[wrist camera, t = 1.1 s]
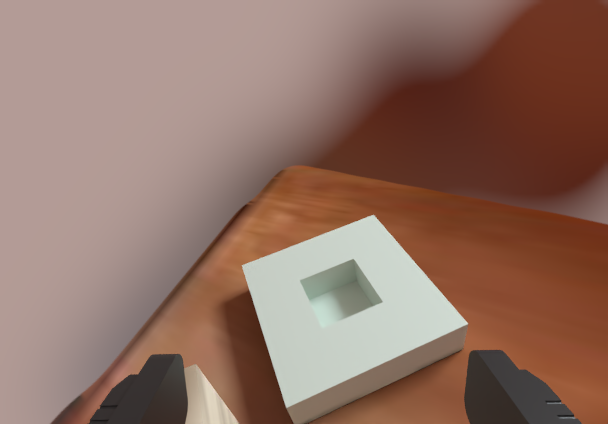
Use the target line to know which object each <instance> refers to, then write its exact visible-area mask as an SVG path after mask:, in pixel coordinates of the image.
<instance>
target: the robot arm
mask: <svg viewBox="0 0 608 424" xmlns="http://www.w3.org/2000/svg"><path fill="white" fill-rule="evenodd" d="M464 401H465V409H466V413H467V416H468V419H469V422H470V424H582V423H581V422H580V421H579V420H578V419H575V417H574V414H573V413H572V412H571V411H570V410H569V409H568V408H567V406H566V405H565V404H562V403H561V400H560V399H559V397H558V396H557V395H556V394H555V393H554V392H553V391H552V390H551V389H550V387H549V386H548V385H547V384H546V383H544V382H543V381H542V380H540V379H539V378H537V377H536V376H534V375H533V374H531V373H530V372H528V371H527V370H519V369H518V368H517V367H516V366H515V364H514V363H513V362H512V361H511V360H510V358H509V357H508V356H507V355H506V354H505V353H504V352H503V351H501V350H473V351H471V352H470V355H469V360H468V369H467V378H466V387H465V397H464ZM187 411H188V397H187V389H186V381H185V373H184V365H183V359H182V356H181V355H180V354H157V355H151V356H150V357H149V359H148V360H147V362H146V363H145V365H144V366H143V368H142V369H141V371H140V373H139V374H138V375H129V376H128V377H126V378H125V379H124V380H123V381H121V382H120V383H119V384H118V385H116V386H115V387H114V388H113V389H112V390H111V391H110V393H109V394H108V395H107V397H106V398H105V400H104V401H103V403H102V404H101V405H100V409H98V410H97V411H96V412H95V414H94V415H93V417H92V418H91V419H90V423H89V424H185V422H186V417H187Z"/></svg>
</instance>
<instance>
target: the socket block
mask: <svg viewBox="0 0 608 424" xmlns="http://www.w3.org/2000/svg"><path fill="white" fill-rule="evenodd" d="M242 267H243V271H244V274H245V277H246V280H247V283H248V287H249V290H250V293H251V296H252V300H253V303H254V306H255V309H256V312H257V316H258V319H259V322H260V325H261V328H262V332H263V335H264V338H265V341H266V345H267V348H268V351H269V354H270V357H271V361H272V364H273V367H274V370H275V374H276V377H277V380H278V383H279V386H280V390H281V393H282V396H283V399H284V402H285V406H286V409H287V411H288V413H289V415H290V417H291V419H292V421H293V423H294V424H306V423H309V422H311V421H313V420H315V419H317V418H319V417H321V416H323V415H325V414H328V413H330V412H332V411H334V410H336V409H338V408H340V407H342V406H344V405H347V404H349V403H351V402H353V401H355V400H357V399H359V398H361V397H363V396H365V395H368V394H370V393H372V392H374V391H376V390H378V389H380V388H382V387H384V386H387V385H389V384H391V383H393V382H395V381H397V380H399V379H401V378H403V377H405V376H408V375H410V374H412V373H414V372H416V371H418V370H420V369H422V368H424V367H427V366H429V365H431V364H433V363H435V362H437V361H439V360H441V359H443V358H445V357H448V356H450V355H452V354H454V353H456V352H458V351H460V350H462V349H463V347H464V342H465V337H466V332H467V327H468V323H467V322H466V321H465V320H464V319H463V317H462V316H461V315H460V314H459V313H458V312H457V311H456V309H455V308H454V307H453V306H452V305H451V304H450V302H449V301H448V300H447V299H446V298H445V297H444V296H443V294H442V293H441V292H440V291H439V290H438V289H437V287H436V286H435V285H434V284H433V283H432V282H431V281H430V279H429V278H428V277H427V276H426V275H425V274H424V272H423V271H422V270H421V269H420V268H419V267H418V266H417V264H416V263H415V262H414V261H413V260H412V259H411V258H410V256H409V255H408V254H407V253H406V252H405V251H404V249H403V248H402V247H401V246H400V245H399V244H398V243H397V241H396V240H395V239H394V238H393V237H392V236H391V234H390V233H389V232H388V231H387V230H386V229H385V228H384V226H383V225H382V224H381V223H380V222H379V221H378V219H377V218H376V217H375V216H374V215H372V216H369V217H367V218H364V219H361V220H359V221H356V222H354V223H351V224H348V225H346V226H343V227H341V228H338V229H335V230H333V231H330V232H328V233H325V234H322V235H320V236H317V237H315V238H312V239H309V240H307V241H304V242H302V243H299V244H297V245H294V246H291V247H289V248H286V249H284V250H281V251H278V252H276V253H273V254H271V255H268V256H265V257H263V258H260V259H258V260H255V261H252V262H250V263H247V264H245V265H242Z"/></svg>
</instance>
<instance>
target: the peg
mask: <svg viewBox="0 0 608 424" xmlns="http://www.w3.org/2000/svg"><path fill="white" fill-rule="evenodd" d="M184 373H185V381H186V389H187V397H188V411H187V417H186V422H185V424H239V422H238V421H237V420H236V418H235V417H234V416H233V414H232V413H231V411H230V410H229V409H228V407H227V406H226V405H225V403H224V402H223V400H222V399H221V398H220V396H219V395H218V394H217V392H216V391H215V390H214V388H213V387H212V385H211V384H210V383H209V381H208V380H207V379H206V377H205V376H204V375H203V373H202V372H201V370H200V369H199V368H198V366H197V365H196V364H194V365H192V366H189V367H187V368H185V369H184Z"/></svg>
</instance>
